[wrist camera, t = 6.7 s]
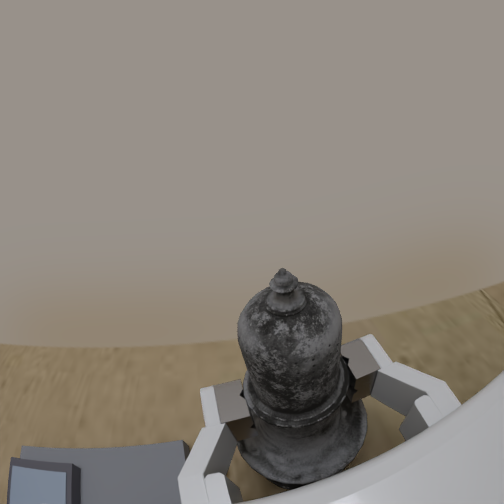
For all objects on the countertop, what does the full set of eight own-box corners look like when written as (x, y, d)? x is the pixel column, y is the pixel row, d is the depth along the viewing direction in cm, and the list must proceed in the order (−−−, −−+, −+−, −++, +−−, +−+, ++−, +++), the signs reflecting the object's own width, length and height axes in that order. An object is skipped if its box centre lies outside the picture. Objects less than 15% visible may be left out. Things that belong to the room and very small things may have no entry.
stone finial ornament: (227, 466, 13) (110, 313, 6) (282, 389, 17) (246, 203, 10) (327, 511, 10) (368, 434, 3) (373, 420, 13) (424, 226, 7)
